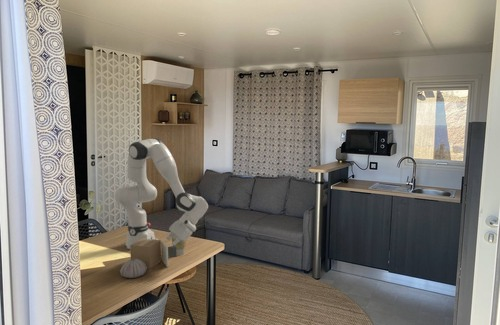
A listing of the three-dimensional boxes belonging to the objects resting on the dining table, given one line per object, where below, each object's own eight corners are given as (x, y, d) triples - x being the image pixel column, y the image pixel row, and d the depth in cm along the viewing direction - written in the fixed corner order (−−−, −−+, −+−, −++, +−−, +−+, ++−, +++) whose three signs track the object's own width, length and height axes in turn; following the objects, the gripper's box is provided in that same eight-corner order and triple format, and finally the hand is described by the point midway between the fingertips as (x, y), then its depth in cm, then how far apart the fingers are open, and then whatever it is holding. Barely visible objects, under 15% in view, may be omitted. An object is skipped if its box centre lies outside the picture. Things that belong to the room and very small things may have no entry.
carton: (142, 258, 219) (141, 238, 217) (161, 260, 216) (160, 239, 214) (130, 266, 207) (130, 244, 206) (150, 268, 204) (149, 246, 203)
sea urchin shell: (133, 282, 187) (132, 266, 186) (114, 276, 194) (113, 261, 193) (152, 272, 199) (151, 257, 198) (133, 267, 205) (133, 253, 204)
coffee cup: (169, 252, 229) (168, 228, 227) (184, 249, 233) (184, 226, 232) (173, 257, 220) (173, 232, 218) (189, 254, 225) (189, 230, 223)
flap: (161, 259, 215) (161, 240, 214) (171, 257, 218) (171, 239, 217) (167, 266, 205) (166, 247, 204) (177, 264, 207) (176, 245, 206)
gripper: (176, 214, 219) (160, 233, 215) (189, 223, 201) (172, 244, 198) (184, 221, 222) (168, 240, 218) (197, 230, 204) (180, 250, 200)
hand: (170, 242), depth 208 cm, fingers open, 8 cm apart
